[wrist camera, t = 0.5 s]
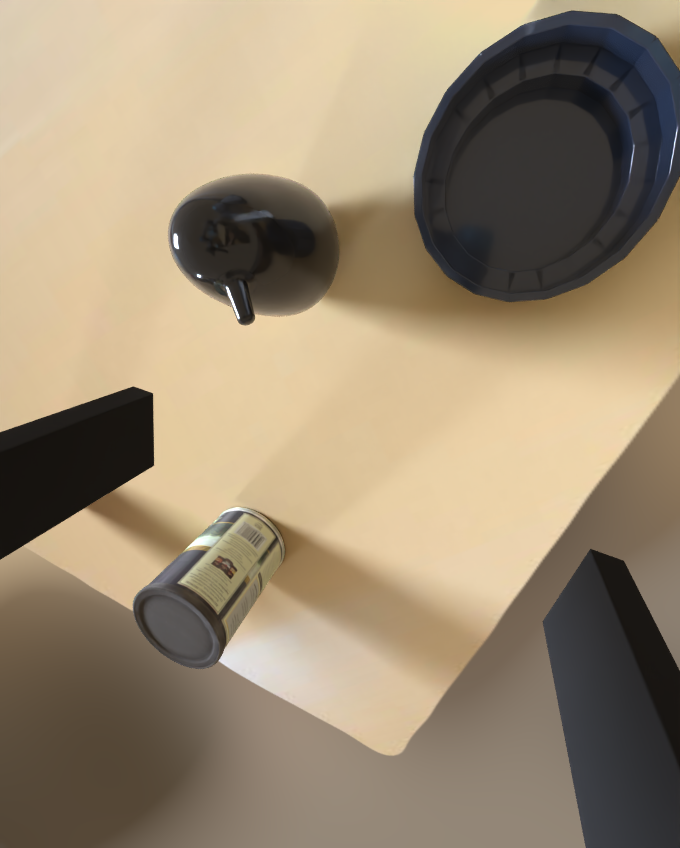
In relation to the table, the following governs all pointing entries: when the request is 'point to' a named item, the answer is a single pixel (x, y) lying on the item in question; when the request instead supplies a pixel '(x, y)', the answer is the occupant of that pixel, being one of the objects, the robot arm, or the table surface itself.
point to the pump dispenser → (256, 244)
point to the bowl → (549, 156)
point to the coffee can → (209, 588)
